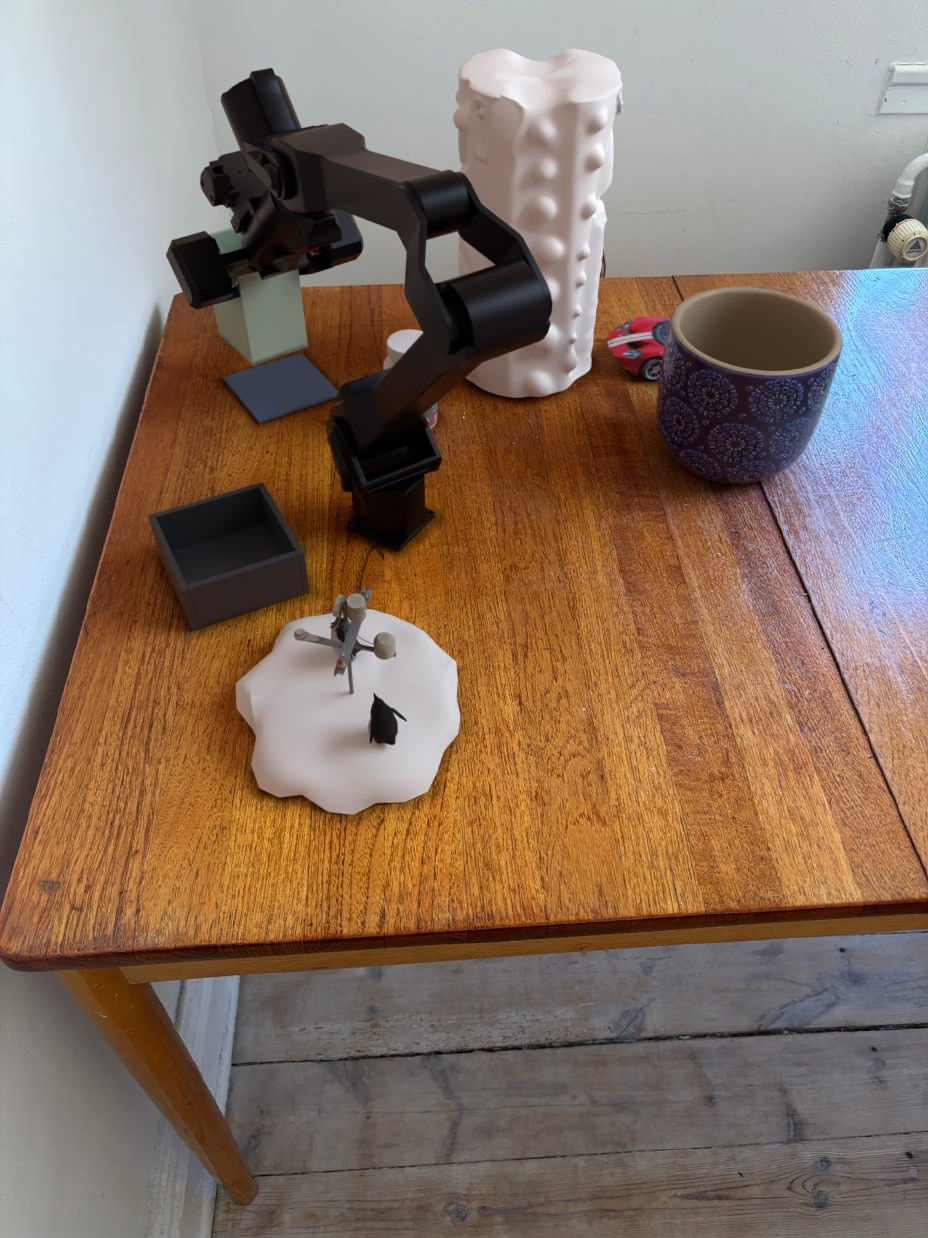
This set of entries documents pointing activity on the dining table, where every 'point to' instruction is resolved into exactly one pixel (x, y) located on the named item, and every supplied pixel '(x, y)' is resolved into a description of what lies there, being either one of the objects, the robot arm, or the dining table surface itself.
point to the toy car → (640, 345)
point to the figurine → (350, 708)
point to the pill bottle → (395, 349)
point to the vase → (542, 193)
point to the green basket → (261, 311)
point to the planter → (744, 381)
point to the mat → (280, 387)
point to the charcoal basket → (229, 555)
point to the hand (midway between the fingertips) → (248, 281)
